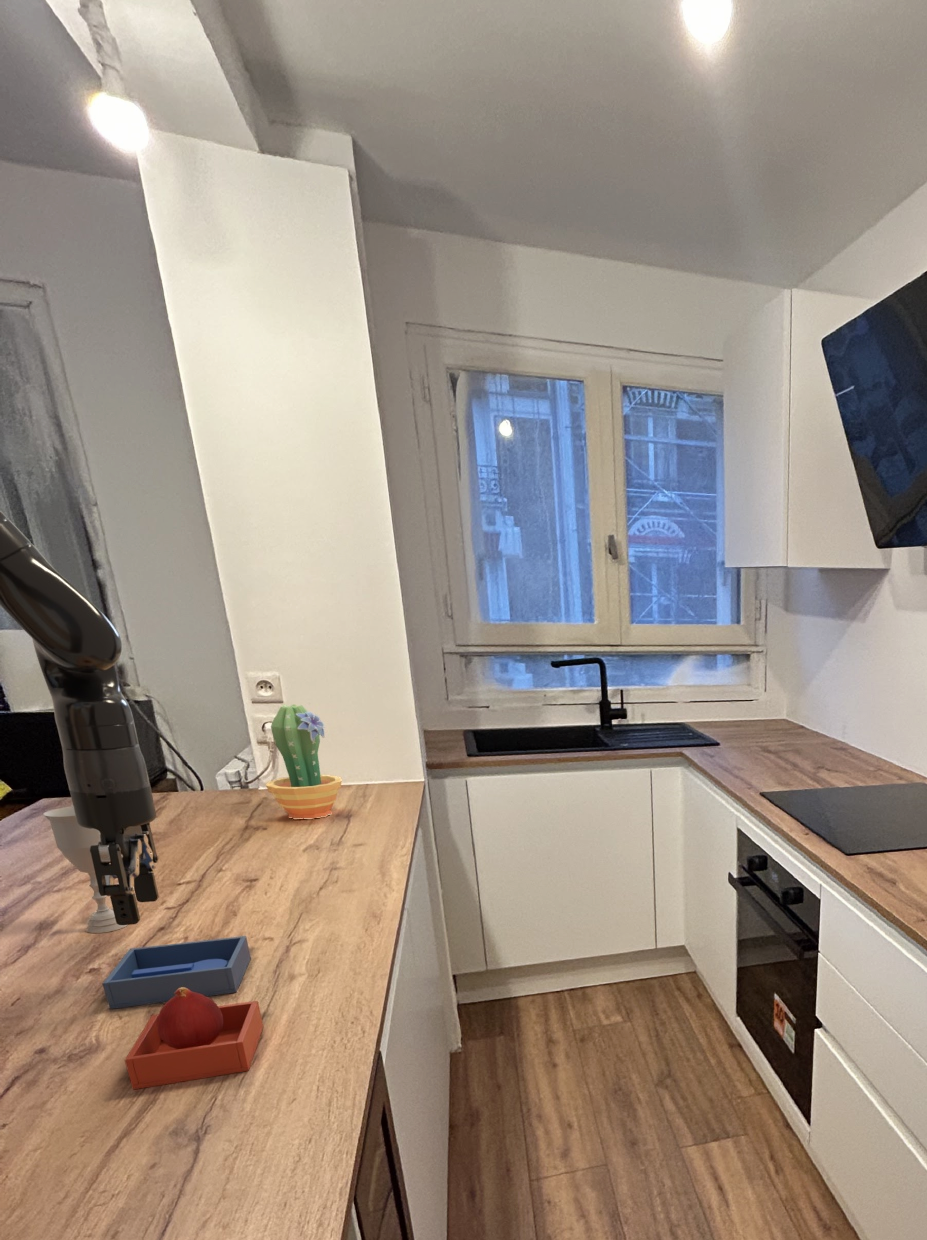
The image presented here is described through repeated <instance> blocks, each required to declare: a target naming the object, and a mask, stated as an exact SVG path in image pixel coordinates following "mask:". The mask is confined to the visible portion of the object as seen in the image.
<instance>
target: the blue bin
mask: <svg viewBox="0 0 927 1240" xmlns="http://www.w3.org/2000/svg"><path fill="white" fill-rule="evenodd" d="M208 959H223V960H226V961H227V963H228V965H227V967H220V968H212V969H203V970H195V971H187V972H179V973H171V974H162V975H154V976H146V977H138V978H132V977H131V974H132V973H133V971H134V970H139V969H147V968H156V967H164V966H172V965H181V964H189V963H195V962H198V961H202V960H208ZM251 960H252V957H251V951H250V947H249V942H248V939H247V936H246V935H243V936H233V937H232V936H231V937H223V938H215V939H206V940H196V941H190V942H188V941H187V942H180V943H178V942H177V943H170V944H161V945H152V946H151V945H150V946H143V947H133V948H129V950H127V952H126V953H125V954H124V956H123V957H122V958H121V959H120V961H118V963H117V964H116V966H115V967H114V968H113V969H112V971H111V972H110V973H109V974H108V976H107V977H106V978H105V979H104V981H103V982H102V987H103V991H104V994H105V997H106V1001H107V1005H108V1008H109V1010H114V1009H115V1010H116V1009H122V1008H129V1007H130V1008H131V1007H136V1006H137V1007H138V1006H145V1005H152V1004H158V1003H159V1004H161V1003H167V1002H168V1001H169V1000H170V999H171V998H173V997H174V996H176V994H175V993H174V992H176V991H177V989H179V988H181V987H184V988H187V989H189V990H190V991H192V992H196V993H199V994H202V995H204V996H206V997H212V996H219V995H220V996H222V995H228V994H234V993H235V994H236V993H237V992H238V989H239V987H240V986H241V983H242V980H243V978H244V976H245V974H246V972H247V969H248V967H249V965H250V962H251Z"/></svg>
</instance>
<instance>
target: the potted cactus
mask: <svg viewBox="0 0 927 1240" xmlns="http://www.w3.org/2000/svg"><path fill="white" fill-rule="evenodd" d="M324 728H325V724H324V723H323V721H322V720H321V718H320V717H319V716H318V715H317V714H314V713H312V712H310V711H309V710H307V709H306V708H305V707H304V706H303V705H296V704H291V705H290V706H288V705H285V704H284V705H282V706H280V707H279V708H278V710H277V713H276V714H275V716H274V718H273V720H272V722H271V724H270V730H271V734H272V738H273V740H274V745H275V747H276V748H277V750H278V751H279V753H280V755H281V756H282V760H283V763H284V765H285V768H286V771H287V774H288V775H287V776H286V777H279V778H275V779H272V780H269V781H267V782H266V784H265V787H266V789H267V791H268V793H270V794H271V793H272V795H273V797H274V799H275V800H276V802H277V803H278V805H279V806H280V807H281V808H282V809H283V810H284V811H285V812H287V813H288V818H289V817H292V818H303V819H304V818H316V817H321V816H326V815H328V814H331V812H332V810H331V809H332V807H333V806H334V805H335V802H336V801H337V796H338V791H339V789H340V788H342V777H340V776H336V775H332V774H331V775H329V774H328V775H327V774H321V769H320V762H319V747H320V742H321V739H320V736H321V738H323V739H324V738H325V730H324Z"/></svg>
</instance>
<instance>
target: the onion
mask: <svg viewBox="0 0 927 1240" xmlns="http://www.w3.org/2000/svg"><path fill="white" fill-rule="evenodd" d="M174 993H175V994H176V996H174V997H173V998H171V999H170V1000H169V1001H168V1002H165V1004H164V1005H163V1006H162V1007H161V1009H160V1010H159V1013H158V1015H159V1016H158V1019H157V1031H158V1034H159V1036H160V1038H161V1039H162V1040H163V1041H164V1042H165V1043H166V1044H167V1045H168V1046H170V1047H173V1048H176V1049H185V1048H191V1047H198V1046H204V1045H210V1044H211V1043H212V1042H214V1040H215V1039H216V1038H217V1037H218V1036H219V1034H220V1031H221V1029H222V1026H223V1015H222V1013H221V1010H220V1009H219V1007H218V1006H219V1005H218V1004H217V1003H216V1002H215V1001H214V1000H213V999H212V998H210V997H209V996H204V995H202V994H199V993H196V992H192V991H190V990H189V989H187V988H184V987H181V988H179V989H177V991H176V992H174Z"/></svg>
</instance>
